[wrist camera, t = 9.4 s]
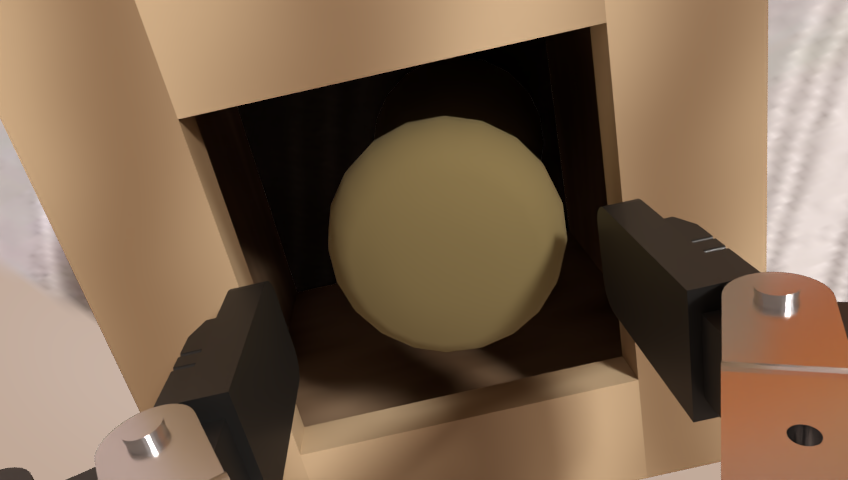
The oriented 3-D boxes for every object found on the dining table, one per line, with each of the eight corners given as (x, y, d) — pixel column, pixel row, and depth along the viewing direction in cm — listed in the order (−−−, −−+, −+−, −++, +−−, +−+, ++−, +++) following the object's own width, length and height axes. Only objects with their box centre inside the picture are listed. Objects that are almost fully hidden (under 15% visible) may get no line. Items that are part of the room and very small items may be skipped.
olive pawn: (441, 254, 24) (416, 443, 14) (339, 127, 23) (227, 236, 13) (577, 160, 23) (660, 298, 12) (475, 17, 21) (474, 40, 11)
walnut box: (554, -111, 22) (769, -208, 10) (594, 246, 28) (765, 451, 16) (166, -22, 22) (-65, -19, 10) (281, 316, 28) (217, 573, 16)
